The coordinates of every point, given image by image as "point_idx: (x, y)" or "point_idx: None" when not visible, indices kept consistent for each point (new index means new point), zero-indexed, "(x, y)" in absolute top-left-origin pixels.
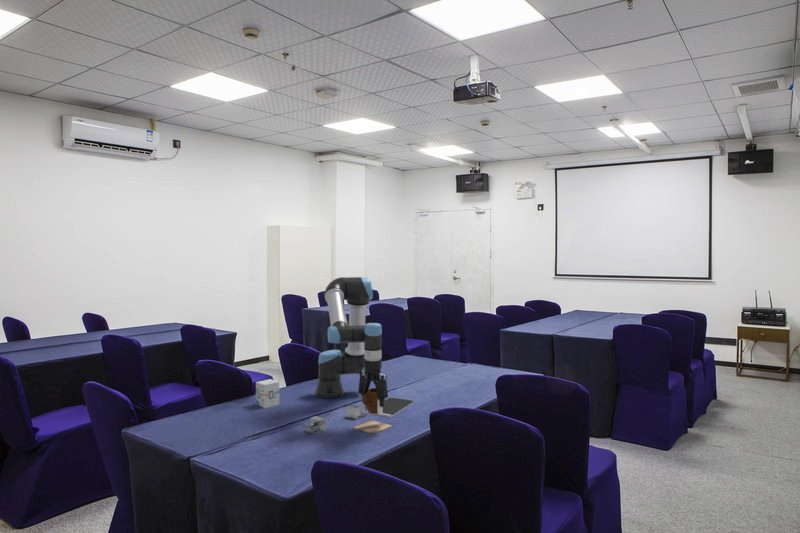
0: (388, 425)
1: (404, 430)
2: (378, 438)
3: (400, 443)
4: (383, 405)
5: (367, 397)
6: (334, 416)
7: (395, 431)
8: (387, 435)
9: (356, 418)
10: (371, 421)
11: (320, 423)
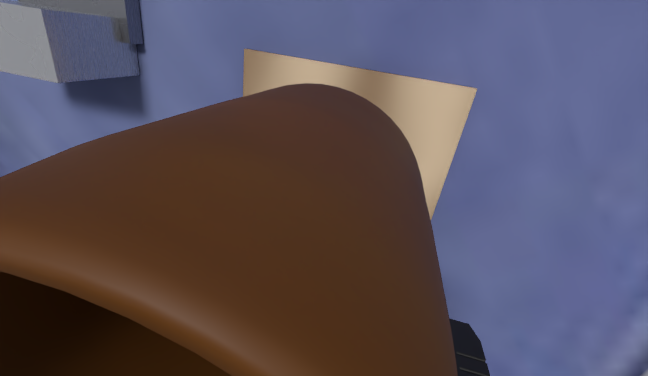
0: (441, 101)
1: (627, 127)
2: (466, 320)
3: (644, 354)
4: (474, 346)
5: (150, 360)
6: (11, 94)
7: (543, 180)
8: (505, 267)
9: (134, 70)
10: (265, 79)
11: None
